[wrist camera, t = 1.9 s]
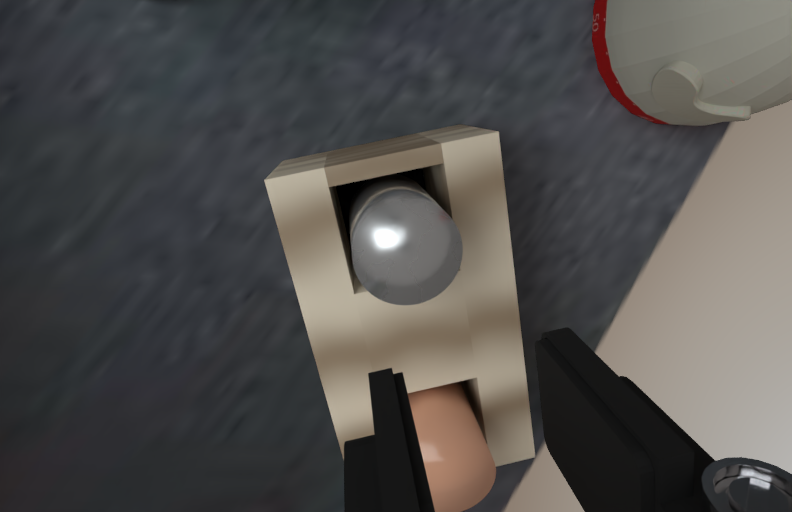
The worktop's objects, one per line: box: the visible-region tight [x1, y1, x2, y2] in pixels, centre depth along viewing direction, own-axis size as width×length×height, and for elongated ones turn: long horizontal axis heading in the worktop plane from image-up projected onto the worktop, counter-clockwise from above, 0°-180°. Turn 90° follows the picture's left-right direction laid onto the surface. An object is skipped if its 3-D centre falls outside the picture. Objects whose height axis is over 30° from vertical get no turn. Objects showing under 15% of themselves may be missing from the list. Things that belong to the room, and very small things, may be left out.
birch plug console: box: [264, 124, 535, 466], centre depth 31 cm, size 21×12×8 cm, turn 11°
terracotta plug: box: [408, 381, 496, 512], centre depth 29 cm, size 5×5×8 cm
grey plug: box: [349, 174, 463, 305], centre depth 24 cm, size 5×5×8 cm
